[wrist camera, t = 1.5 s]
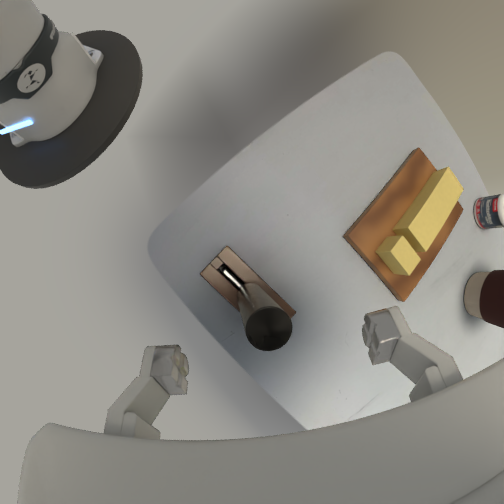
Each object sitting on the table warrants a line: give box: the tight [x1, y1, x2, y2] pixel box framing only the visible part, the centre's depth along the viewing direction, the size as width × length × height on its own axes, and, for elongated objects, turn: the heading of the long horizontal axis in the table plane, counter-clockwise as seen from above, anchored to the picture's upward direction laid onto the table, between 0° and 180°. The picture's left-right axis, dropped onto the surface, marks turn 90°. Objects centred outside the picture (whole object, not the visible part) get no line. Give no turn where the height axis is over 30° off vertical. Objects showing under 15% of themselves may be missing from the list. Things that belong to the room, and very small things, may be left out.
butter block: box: [393, 167, 464, 252], centre depth 31 cm, size 4×12×4 cm, turn 136°
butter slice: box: [376, 235, 421, 276], centre depth 31 cm, size 4×3×4 cm, turn 46°
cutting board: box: [343, 148, 463, 302], centre depth 33 cm, size 12×18×2 cm, turn 136°
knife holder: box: [200, 246, 296, 319], centre depth 30 cm, size 10×4×4 cm, turn 46°
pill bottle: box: [474, 194, 504, 229], centre depth 31 cm, size 5×5×9 cm
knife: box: [223, 268, 292, 351], centre depth 24 cm, size 7×3×17 cm, turn 46°
